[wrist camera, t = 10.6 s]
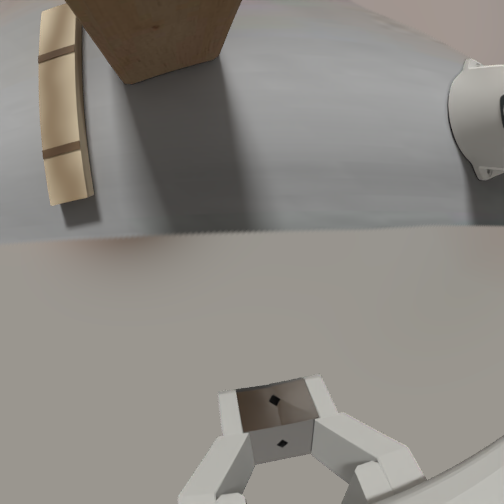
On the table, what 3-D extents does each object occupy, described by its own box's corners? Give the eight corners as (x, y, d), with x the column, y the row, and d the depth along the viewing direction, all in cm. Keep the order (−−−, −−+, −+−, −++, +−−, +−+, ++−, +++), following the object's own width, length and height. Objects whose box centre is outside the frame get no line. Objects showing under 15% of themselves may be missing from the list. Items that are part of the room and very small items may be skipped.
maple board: (82, 9, 23) (76, -1, 21) (94, 194, 29) (87, 197, 27) (49, 20, 22) (41, 11, 20) (59, 202, 29) (50, 206, 26)
